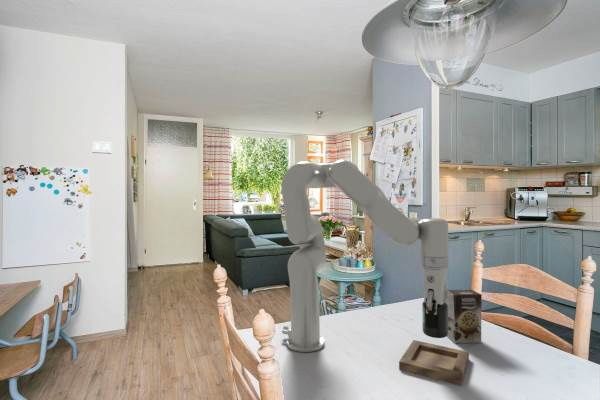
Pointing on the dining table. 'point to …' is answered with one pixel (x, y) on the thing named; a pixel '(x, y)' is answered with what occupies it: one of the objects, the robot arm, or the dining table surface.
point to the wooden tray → (435, 362)
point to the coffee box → (464, 316)
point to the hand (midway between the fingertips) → (435, 322)
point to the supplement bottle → (443, 321)
